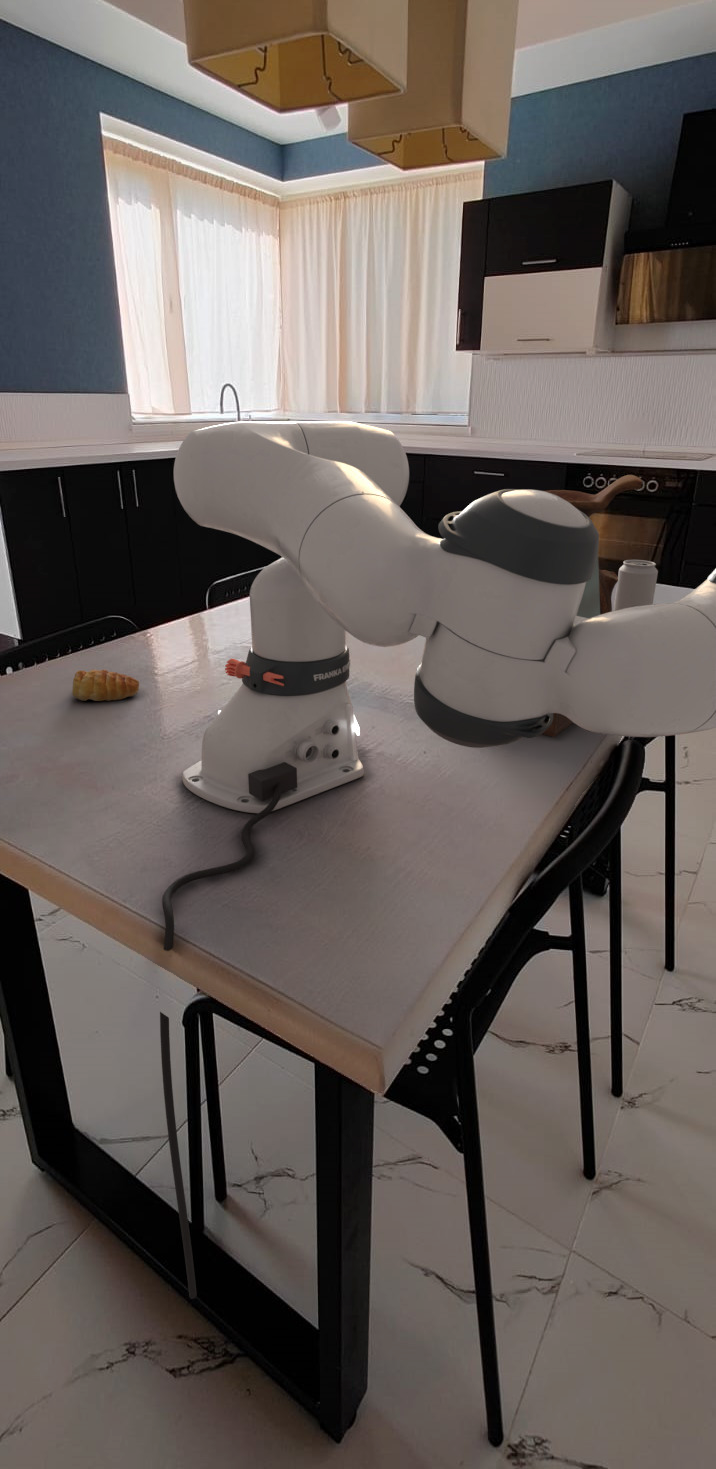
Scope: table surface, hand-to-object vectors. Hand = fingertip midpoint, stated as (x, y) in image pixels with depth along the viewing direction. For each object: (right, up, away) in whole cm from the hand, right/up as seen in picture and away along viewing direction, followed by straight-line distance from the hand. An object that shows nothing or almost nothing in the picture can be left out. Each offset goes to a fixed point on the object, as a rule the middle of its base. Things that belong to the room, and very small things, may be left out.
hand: (647, 613), depth 96 cm
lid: (-8, +2, +5) cm, 9 cm away
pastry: (-75, -9, +20) cm, 78 cm away
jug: (-1, +2, +47) cm, 47 cm away
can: (+20, +8, +63) cm, 67 cm away
